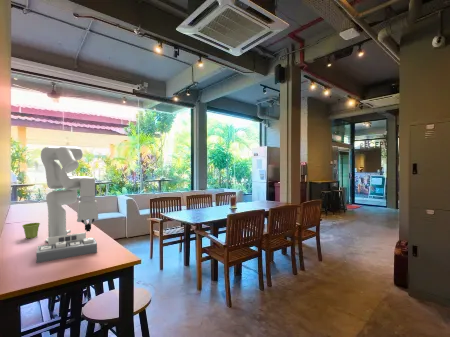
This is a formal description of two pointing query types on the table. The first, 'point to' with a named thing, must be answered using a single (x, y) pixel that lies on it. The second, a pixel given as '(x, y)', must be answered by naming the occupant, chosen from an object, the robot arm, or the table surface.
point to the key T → (87, 240)
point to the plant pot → (31, 230)
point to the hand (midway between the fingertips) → (88, 231)
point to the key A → (46, 248)
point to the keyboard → (65, 251)
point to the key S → (61, 244)
